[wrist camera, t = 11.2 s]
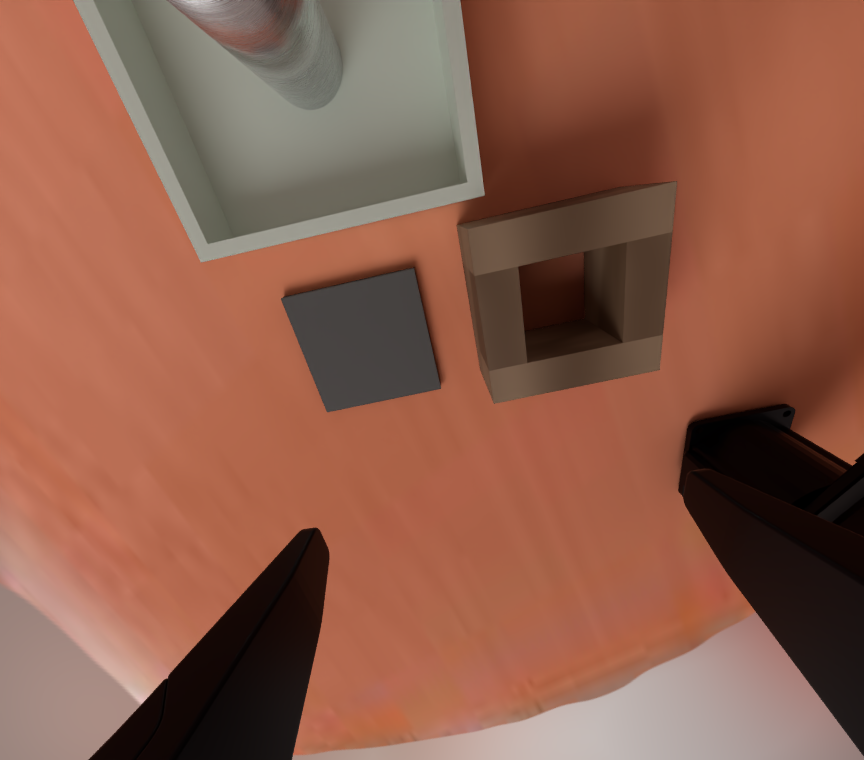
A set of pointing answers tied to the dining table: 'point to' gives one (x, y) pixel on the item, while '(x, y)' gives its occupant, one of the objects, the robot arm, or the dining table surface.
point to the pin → (276, 44)
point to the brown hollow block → (603, 289)
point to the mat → (365, 339)
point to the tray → (297, 121)
